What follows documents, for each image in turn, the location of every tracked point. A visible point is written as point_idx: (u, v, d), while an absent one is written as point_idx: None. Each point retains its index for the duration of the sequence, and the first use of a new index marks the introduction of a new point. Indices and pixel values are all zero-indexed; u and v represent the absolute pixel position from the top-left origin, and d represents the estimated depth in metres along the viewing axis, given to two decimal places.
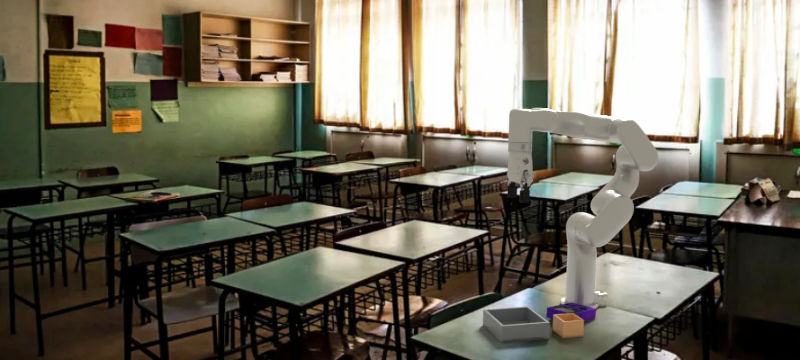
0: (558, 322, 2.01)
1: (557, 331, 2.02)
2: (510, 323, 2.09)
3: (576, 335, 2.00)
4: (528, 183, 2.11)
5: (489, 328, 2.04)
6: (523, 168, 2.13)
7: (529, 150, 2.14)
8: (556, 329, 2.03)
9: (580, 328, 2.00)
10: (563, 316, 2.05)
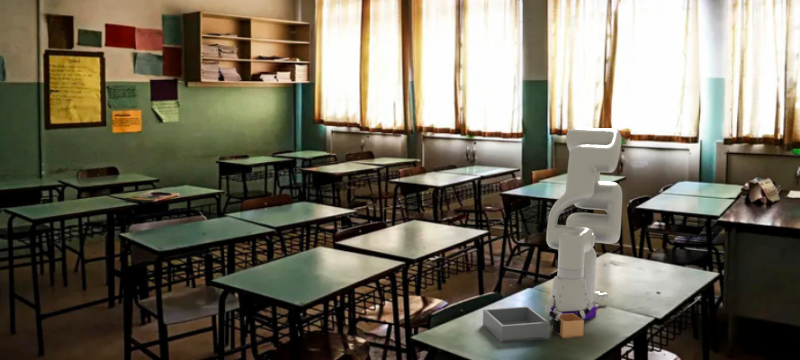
0: None
1: None
2: (510, 323, 2.09)
3: (576, 335, 2.00)
4: None
5: (489, 328, 2.04)
6: None
7: None
8: None
9: (580, 328, 2.00)
10: (563, 317, 2.05)
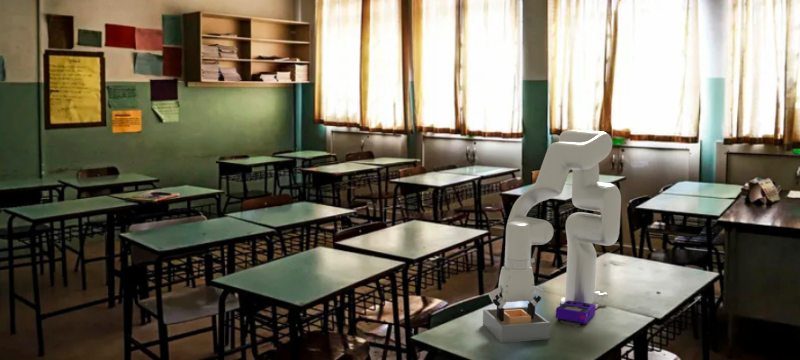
0: (506, 318, 2.02)
1: None
2: None
3: None
4: None
5: (489, 328, 2.04)
6: None
7: None
8: None
9: None
10: (511, 313, 2.06)
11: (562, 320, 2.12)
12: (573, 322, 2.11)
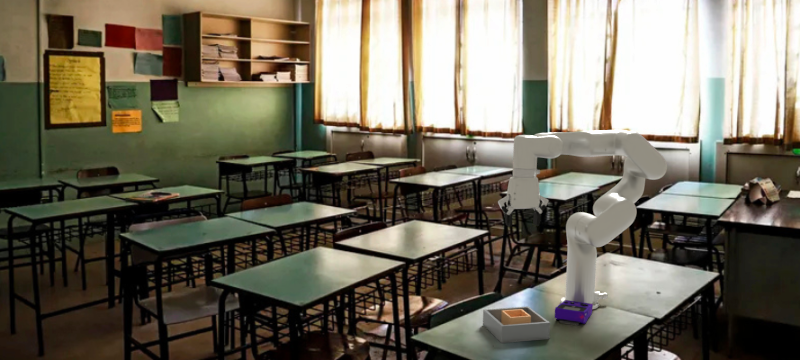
0: (506, 318, 2.02)
1: None
2: None
3: None
4: None
5: (489, 328, 2.04)
6: None
7: None
8: None
9: None
10: (511, 313, 2.06)
11: (561, 320, 2.12)
12: (572, 322, 2.11)
